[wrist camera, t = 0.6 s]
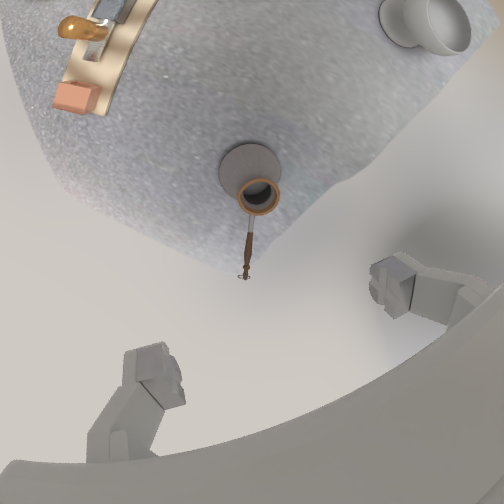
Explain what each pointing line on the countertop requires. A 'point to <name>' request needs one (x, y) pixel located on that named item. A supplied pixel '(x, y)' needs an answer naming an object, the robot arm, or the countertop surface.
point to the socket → (77, 96)
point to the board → (108, 55)
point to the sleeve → (113, 10)
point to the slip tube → (87, 34)
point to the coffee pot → (251, 185)
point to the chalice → (427, 25)
